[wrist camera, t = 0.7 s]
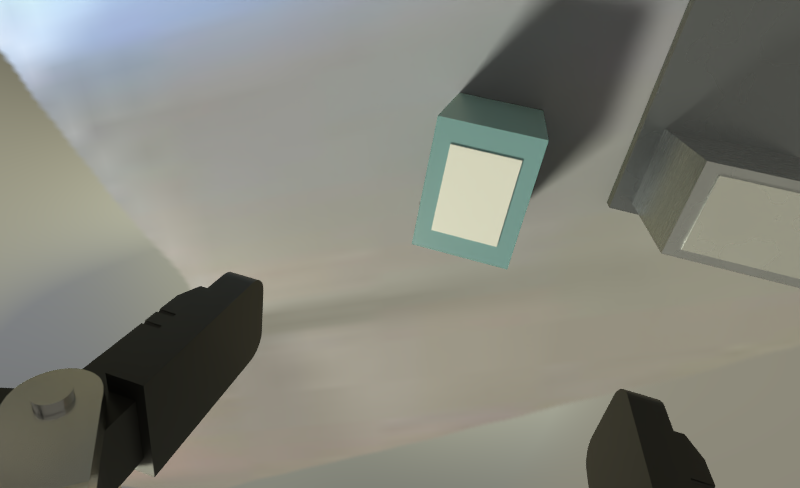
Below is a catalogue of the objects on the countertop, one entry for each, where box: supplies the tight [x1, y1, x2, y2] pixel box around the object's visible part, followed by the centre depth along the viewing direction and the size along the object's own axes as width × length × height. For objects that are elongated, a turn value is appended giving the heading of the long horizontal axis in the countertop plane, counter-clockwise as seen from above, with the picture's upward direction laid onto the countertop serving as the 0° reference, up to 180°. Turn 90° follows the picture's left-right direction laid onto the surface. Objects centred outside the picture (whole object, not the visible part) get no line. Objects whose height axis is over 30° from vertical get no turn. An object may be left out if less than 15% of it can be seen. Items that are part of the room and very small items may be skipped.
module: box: [412, 93, 549, 269], centre depth 23 cm, size 6×4×7 cm
